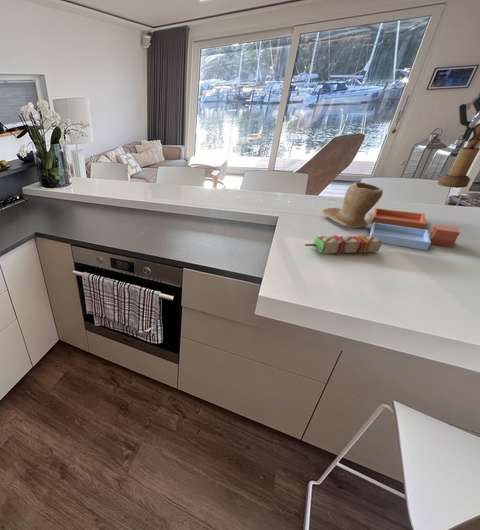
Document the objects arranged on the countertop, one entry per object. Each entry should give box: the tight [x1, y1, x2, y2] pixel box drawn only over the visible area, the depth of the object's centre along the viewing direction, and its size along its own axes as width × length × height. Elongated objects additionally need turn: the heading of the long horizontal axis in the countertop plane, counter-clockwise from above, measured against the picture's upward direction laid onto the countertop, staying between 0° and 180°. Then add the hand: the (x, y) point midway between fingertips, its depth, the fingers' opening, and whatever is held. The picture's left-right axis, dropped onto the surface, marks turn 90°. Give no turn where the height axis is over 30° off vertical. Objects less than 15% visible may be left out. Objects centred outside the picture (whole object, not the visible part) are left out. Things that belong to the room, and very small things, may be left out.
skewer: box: [304, 234, 383, 254], centre depth 91 cm, size 21×6×5 cm, turn 84°
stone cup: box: [321, 181, 384, 229], centre depth 107 cm, size 15×12×15 cm
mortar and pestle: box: [436, 122, 480, 189], centre depth 87 cm, size 7×6×18 cm
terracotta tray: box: [371, 207, 427, 230], centre depth 107 cm, size 14×11×3 cm
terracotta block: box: [429, 223, 461, 248], centre depth 91 cm, size 5×5×5 cm
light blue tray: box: [369, 222, 432, 251], centre depth 96 cm, size 14×11×3 cm
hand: (474, 140), depth 85 cm, fingers closed on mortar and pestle, 3 cm apart
